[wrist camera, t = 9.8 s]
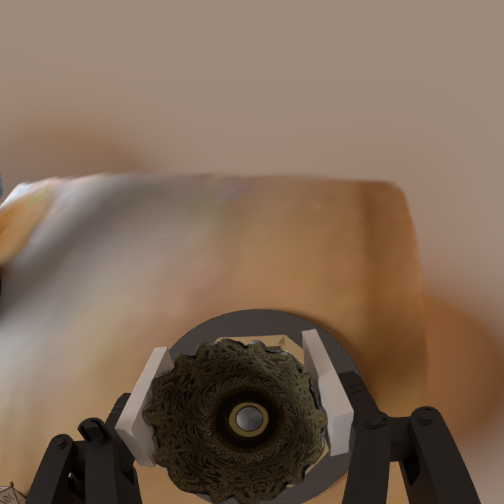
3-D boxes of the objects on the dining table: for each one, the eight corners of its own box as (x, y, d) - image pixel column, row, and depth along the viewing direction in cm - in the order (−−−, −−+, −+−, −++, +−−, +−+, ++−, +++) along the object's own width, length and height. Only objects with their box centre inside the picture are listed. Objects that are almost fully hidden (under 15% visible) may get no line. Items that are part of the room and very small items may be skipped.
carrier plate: (116, 403, 23) (106, 402, 21) (251, 276, 30) (249, 267, 28) (259, 539, 15) (258, 547, 13) (402, 394, 22) (410, 392, 20)
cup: (319, 453, 14) (348, 480, 7) (209, 477, 14) (166, 513, 7) (288, 353, 18) (296, 315, 11) (184, 378, 18) (130, 354, 11)
